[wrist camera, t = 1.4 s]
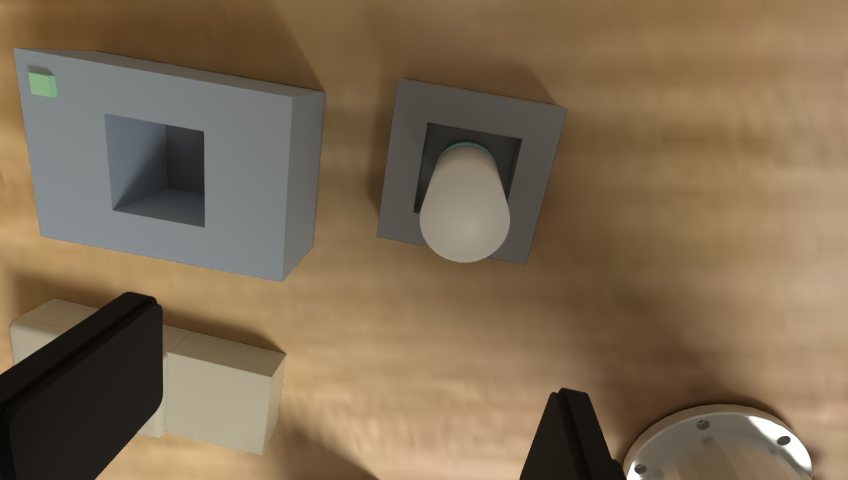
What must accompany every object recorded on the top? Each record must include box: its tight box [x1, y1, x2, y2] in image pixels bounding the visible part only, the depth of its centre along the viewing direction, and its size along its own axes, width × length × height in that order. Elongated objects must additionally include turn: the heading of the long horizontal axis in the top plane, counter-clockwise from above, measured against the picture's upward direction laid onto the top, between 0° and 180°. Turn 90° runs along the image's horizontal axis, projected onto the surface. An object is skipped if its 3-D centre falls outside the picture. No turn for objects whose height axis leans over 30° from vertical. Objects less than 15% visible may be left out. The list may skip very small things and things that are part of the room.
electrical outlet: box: [9, 298, 287, 455], centre depth 34 cm, size 7×4×18 cm
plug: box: [420, 139, 510, 262], centre depth 23 cm, size 4×4×10 cm
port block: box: [13, 48, 325, 282], centre depth 27 cm, size 14×10×6 cm
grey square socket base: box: [377, 78, 567, 265], centre depth 27 cm, size 9×9×2 cm
